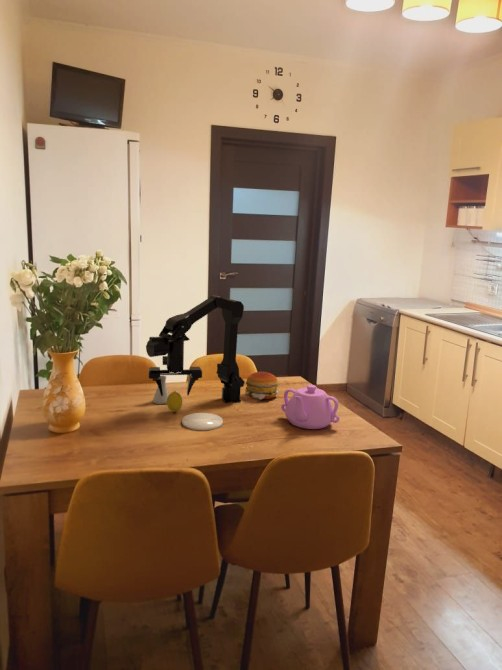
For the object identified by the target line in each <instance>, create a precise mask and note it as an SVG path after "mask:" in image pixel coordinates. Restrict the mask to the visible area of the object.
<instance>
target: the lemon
mask: <svg viewBox="0 0 502 670" xmlns="http://www.w3.org/2000/svg"><path fill="white" fill-rule="evenodd" d="M166 406H167V409H168V410H170V411H171V412H173V413H176V412H177V411H179V410H181V408H182V406H183V398H182V395H181V393H180V392H177V391H176V390H174V391H172V392H170V393H169V395H168V398H167V404H166Z"/></svg>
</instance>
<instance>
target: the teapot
mask: <svg viewBox="0 0 502 670" xmlns="http://www.w3.org/2000/svg"><path fill="white" fill-rule="evenodd" d="M289 392H291V393H293V394H292V396H291V397H290V399H289V397H288V396H289V395H288V394H289ZM283 400H284V403H283V404H281V405H280V408H281V410H282V411H283V412H285V413H284V415H285V418H286V419H287V420H288V421H289V423H290V424H292V425H293V426H295V427H298V428H303V429H306V430H309V429H310V430H318V429H325V428H327V427H328V426H329V425H330V424H332V423H333V424H337V423H339V422H340V420H341V419H340V416H339V415H338V414H337V412H338V409H339V400H338V399H337V398H336V397H335V396H332V395H328V394H327V392H326V391H325V390H323V389H320V388H317V385H315V384H307V385H306V387H300V388H298V389H295V388H287V389H286V390H285V391H284V393H283ZM332 401H333V403H334V407H333V404H332Z"/></svg>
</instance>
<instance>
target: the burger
mask: <svg viewBox="0 0 502 670" xmlns="http://www.w3.org/2000/svg"><path fill="white" fill-rule="evenodd" d="M278 384H279V381H278V378H277V377H276V376H275V375H274V374H272V373H270V372H267V371H256V372H253V373H251V374H249V375H248V377H247V378H246V381H245V385H246V387H245V394H247V396H248V397H250V398H252V399H257V400H272V399H273V398H274V399H275V397H276V395H279V391H278V390H279V389H278V387H279V386H278Z"/></svg>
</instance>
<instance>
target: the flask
mask: <svg viewBox="0 0 502 670" xmlns="http://www.w3.org/2000/svg"><path fill="white" fill-rule="evenodd" d="M160 376H161V383H162V391H163V396H161V393H160V390H159V387H158V386H157V388H156V391H155V393H154V396H153V399H152V403H153V404H155V405H156V404H157V405H167V398H168V395H169V394H170V393H169V391H168V386H167V383H166V381H167V375H160Z"/></svg>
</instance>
